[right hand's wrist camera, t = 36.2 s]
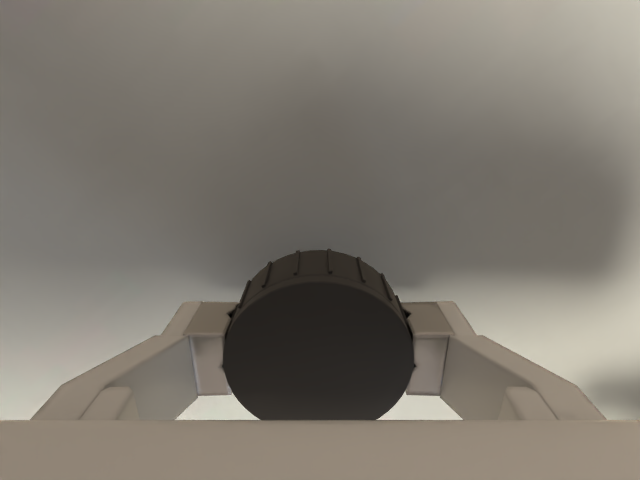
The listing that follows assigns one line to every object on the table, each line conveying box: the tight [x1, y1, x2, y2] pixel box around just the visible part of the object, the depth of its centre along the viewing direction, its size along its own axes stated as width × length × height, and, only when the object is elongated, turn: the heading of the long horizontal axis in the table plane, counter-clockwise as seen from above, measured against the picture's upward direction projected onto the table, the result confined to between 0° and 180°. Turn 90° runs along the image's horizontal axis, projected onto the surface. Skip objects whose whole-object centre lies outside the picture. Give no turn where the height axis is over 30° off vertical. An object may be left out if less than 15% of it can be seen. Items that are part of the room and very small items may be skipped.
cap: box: [223, 249, 414, 420], centre depth 9 cm, size 4×4×2 cm
